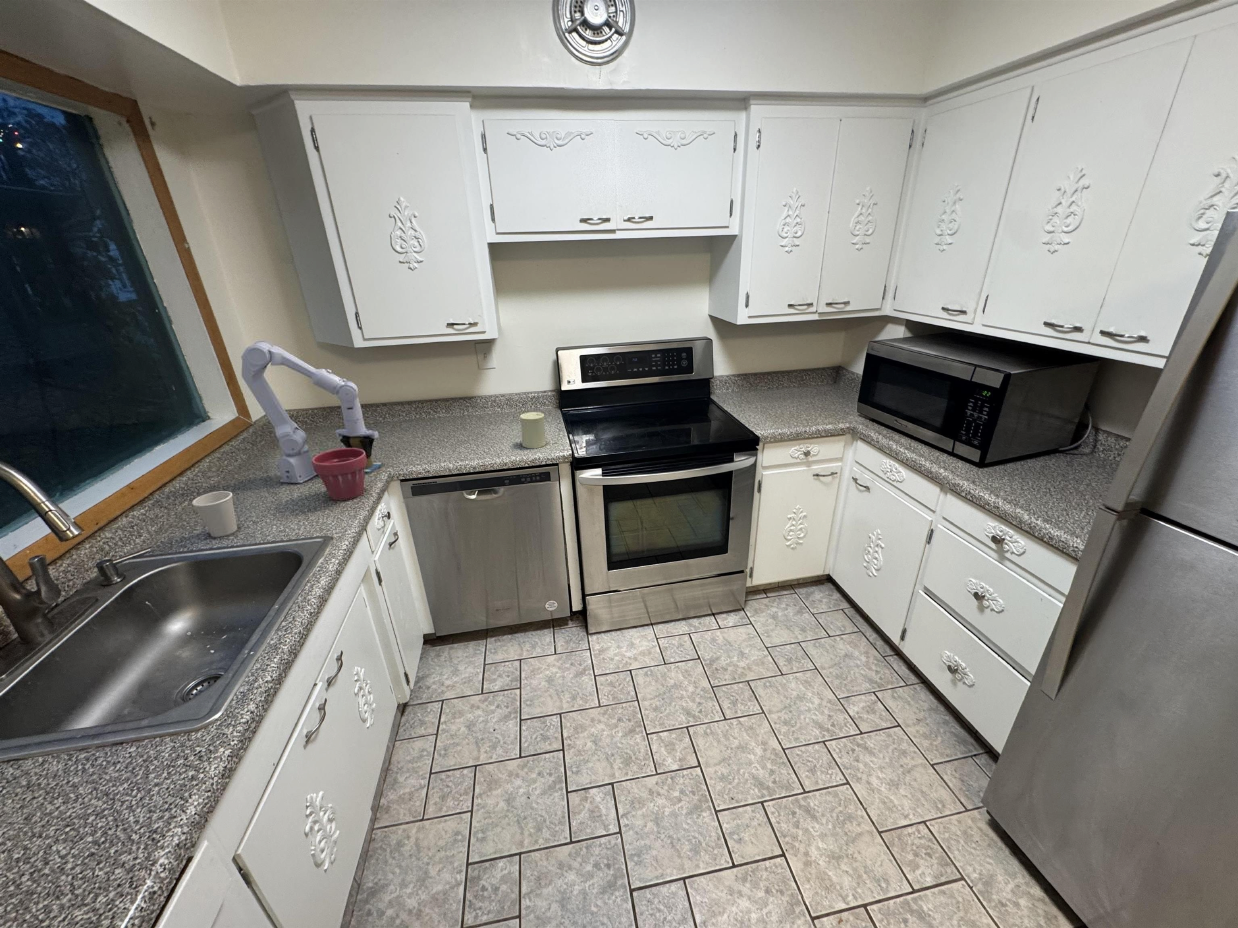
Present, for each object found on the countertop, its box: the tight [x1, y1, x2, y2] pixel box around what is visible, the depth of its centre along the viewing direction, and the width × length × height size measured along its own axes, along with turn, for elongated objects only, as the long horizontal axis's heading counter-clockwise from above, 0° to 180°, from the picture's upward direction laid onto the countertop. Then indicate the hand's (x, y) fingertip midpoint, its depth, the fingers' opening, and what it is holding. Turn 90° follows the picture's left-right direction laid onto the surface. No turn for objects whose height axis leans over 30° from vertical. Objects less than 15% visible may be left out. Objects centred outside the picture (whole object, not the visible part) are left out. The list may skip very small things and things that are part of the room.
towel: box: [364, 461, 384, 474], centre depth 174 cm, size 8×9×1 cm
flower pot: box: [311, 447, 367, 501], centre depth 153 cm, size 14×14×13 cm
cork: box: [350, 436, 373, 468], centre depth 172 cm, size 6×6×11 cm
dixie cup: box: [191, 490, 238, 538], centre depth 132 cm, size 8×8×10 cm
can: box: [519, 411, 547, 449], centre depth 193 cm, size 9×9×12 cm
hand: (361, 456), depth 173 cm, fingers closed on cork, 5 cm apart
